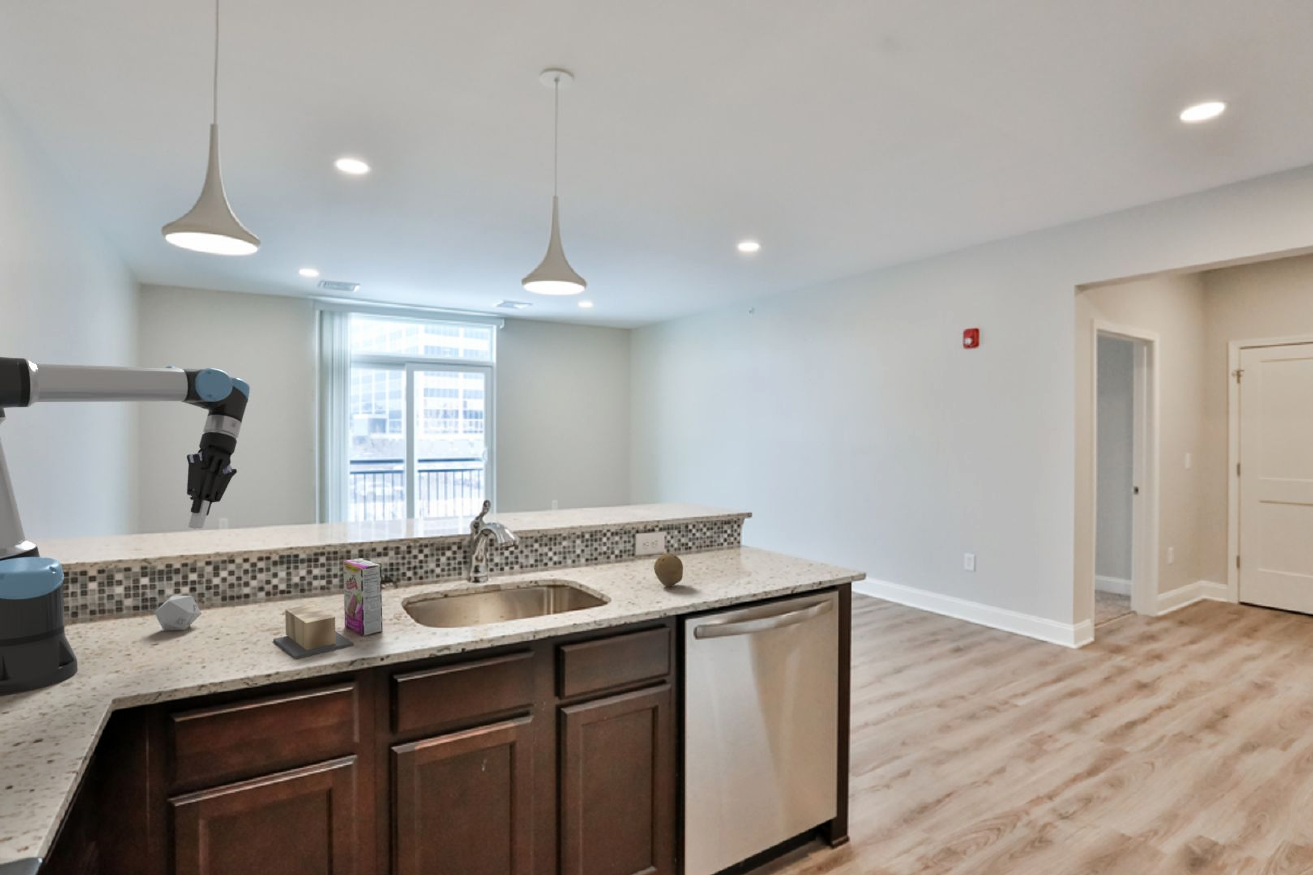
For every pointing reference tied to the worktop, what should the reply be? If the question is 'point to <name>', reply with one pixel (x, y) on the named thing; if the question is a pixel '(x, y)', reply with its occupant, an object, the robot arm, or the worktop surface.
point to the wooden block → (310, 626)
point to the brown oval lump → (668, 569)
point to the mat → (300, 652)
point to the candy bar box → (362, 596)
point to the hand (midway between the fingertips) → (195, 527)
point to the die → (177, 613)
